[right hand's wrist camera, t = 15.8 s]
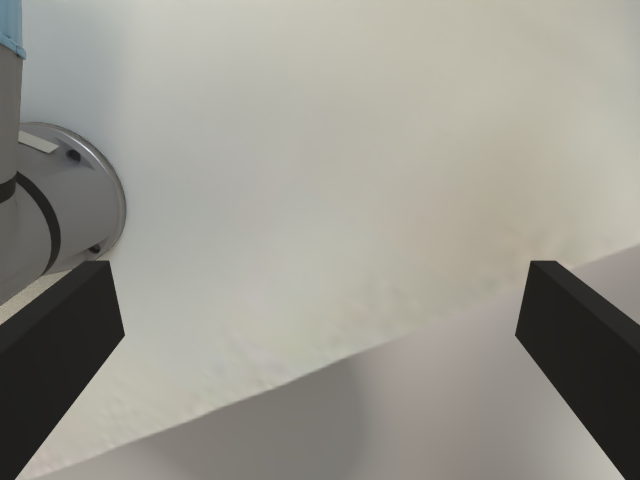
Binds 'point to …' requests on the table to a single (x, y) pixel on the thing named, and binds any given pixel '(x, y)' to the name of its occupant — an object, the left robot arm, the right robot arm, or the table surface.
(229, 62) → the table surface
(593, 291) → the right robot arm
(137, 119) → the table surface
